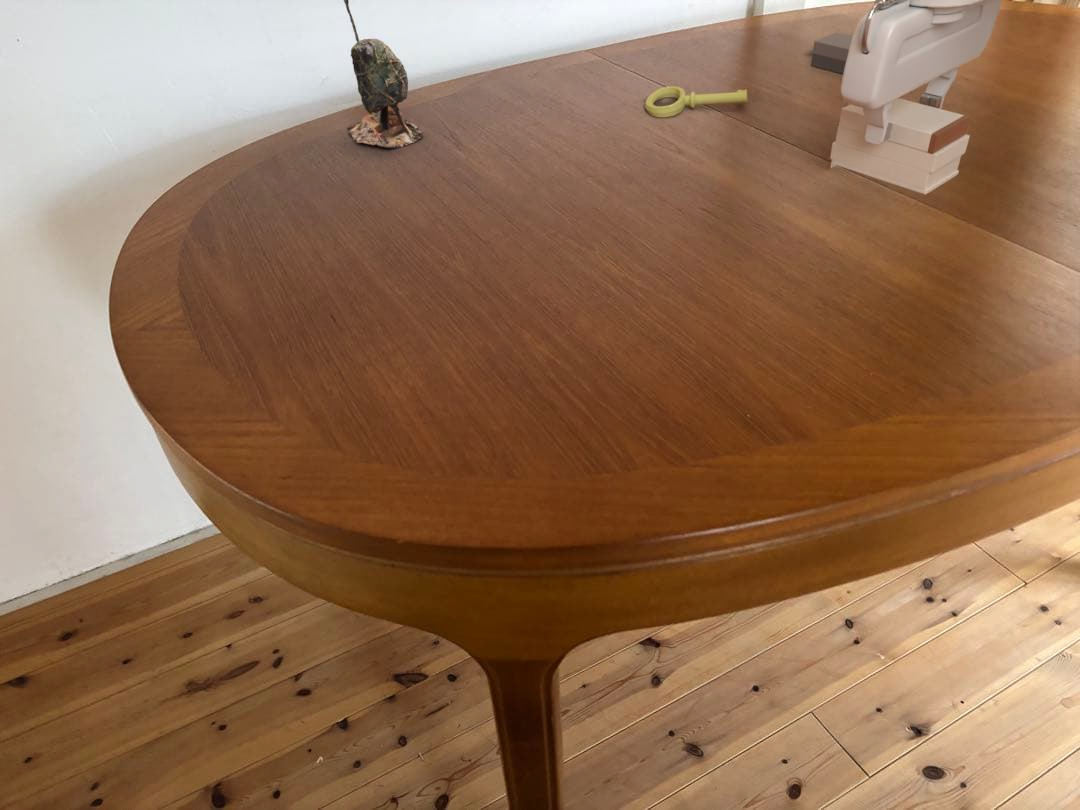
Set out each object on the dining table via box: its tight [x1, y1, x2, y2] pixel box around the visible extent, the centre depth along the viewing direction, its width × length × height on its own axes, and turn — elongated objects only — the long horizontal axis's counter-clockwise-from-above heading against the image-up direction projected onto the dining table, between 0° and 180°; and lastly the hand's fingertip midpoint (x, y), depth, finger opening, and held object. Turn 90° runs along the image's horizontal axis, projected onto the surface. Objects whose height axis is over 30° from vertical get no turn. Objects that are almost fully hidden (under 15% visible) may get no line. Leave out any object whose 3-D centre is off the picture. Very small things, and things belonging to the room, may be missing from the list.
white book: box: [838, 97, 971, 154], centre depth 86 cm, size 10×6×2 cm, turn 42°
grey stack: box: [810, 31, 853, 75], centre depth 114 cm, size 12×5×3 cm, turn 42°
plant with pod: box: [343, 0, 424, 149], centre depth 98 cm, size 8×11×20 cm
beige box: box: [829, 125, 971, 195], centre depth 88 cm, size 11×6×5 cm, turn 42°
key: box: [644, 85, 748, 118], centre depth 108 cm, size 7×12×2 cm, turn 95°
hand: (903, 126), depth 86 cm, fingers open, 8 cm apart
